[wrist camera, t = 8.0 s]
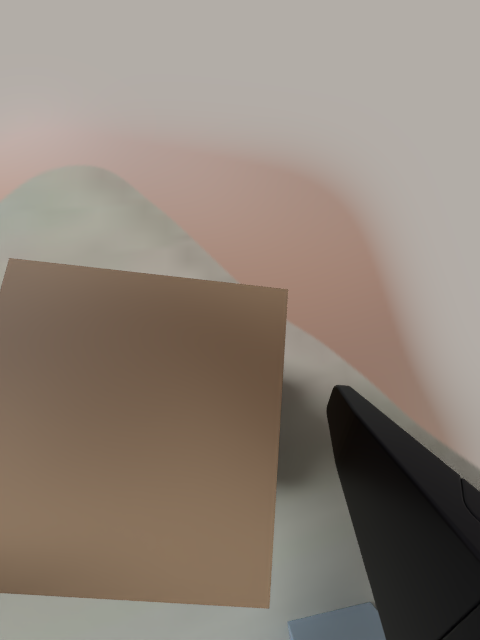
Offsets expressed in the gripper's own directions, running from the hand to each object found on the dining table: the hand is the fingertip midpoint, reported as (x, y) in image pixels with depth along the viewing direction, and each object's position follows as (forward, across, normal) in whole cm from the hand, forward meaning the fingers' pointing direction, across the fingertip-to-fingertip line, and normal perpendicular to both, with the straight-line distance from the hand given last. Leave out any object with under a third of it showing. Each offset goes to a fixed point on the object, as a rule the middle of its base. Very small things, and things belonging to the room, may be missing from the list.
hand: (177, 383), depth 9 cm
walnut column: (+6, 0, +6) cm, 8 cm away
